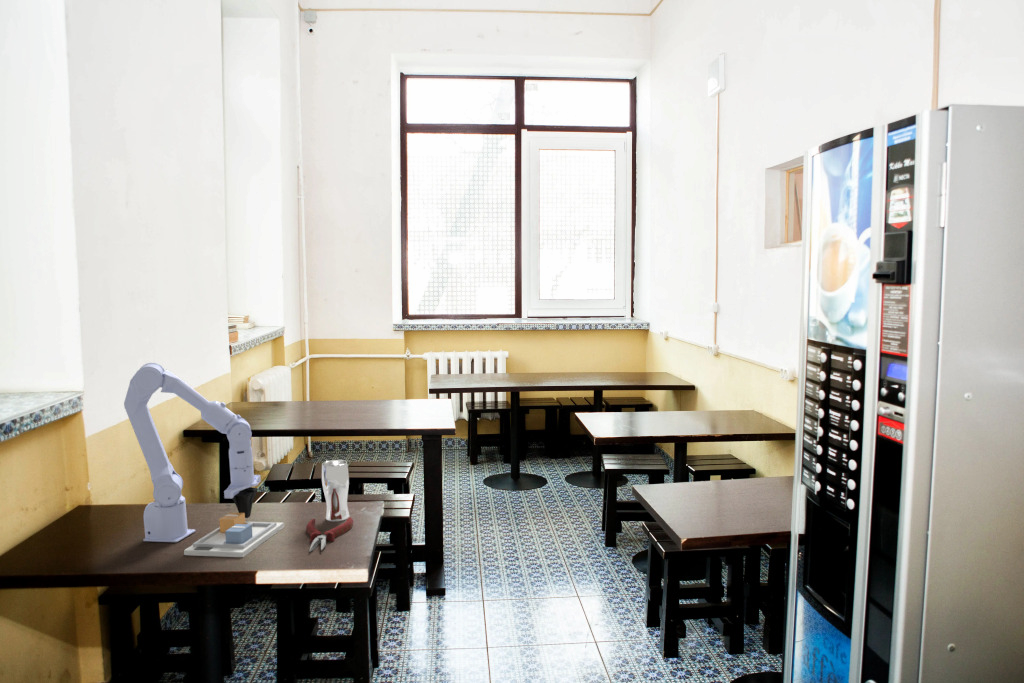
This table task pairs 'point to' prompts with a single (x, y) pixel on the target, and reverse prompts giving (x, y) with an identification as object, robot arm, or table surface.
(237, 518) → the orange white-striped block
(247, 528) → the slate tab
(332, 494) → the beer glass
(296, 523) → the table surface
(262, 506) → the table surface
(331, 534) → the pliers
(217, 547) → the white flat tray
